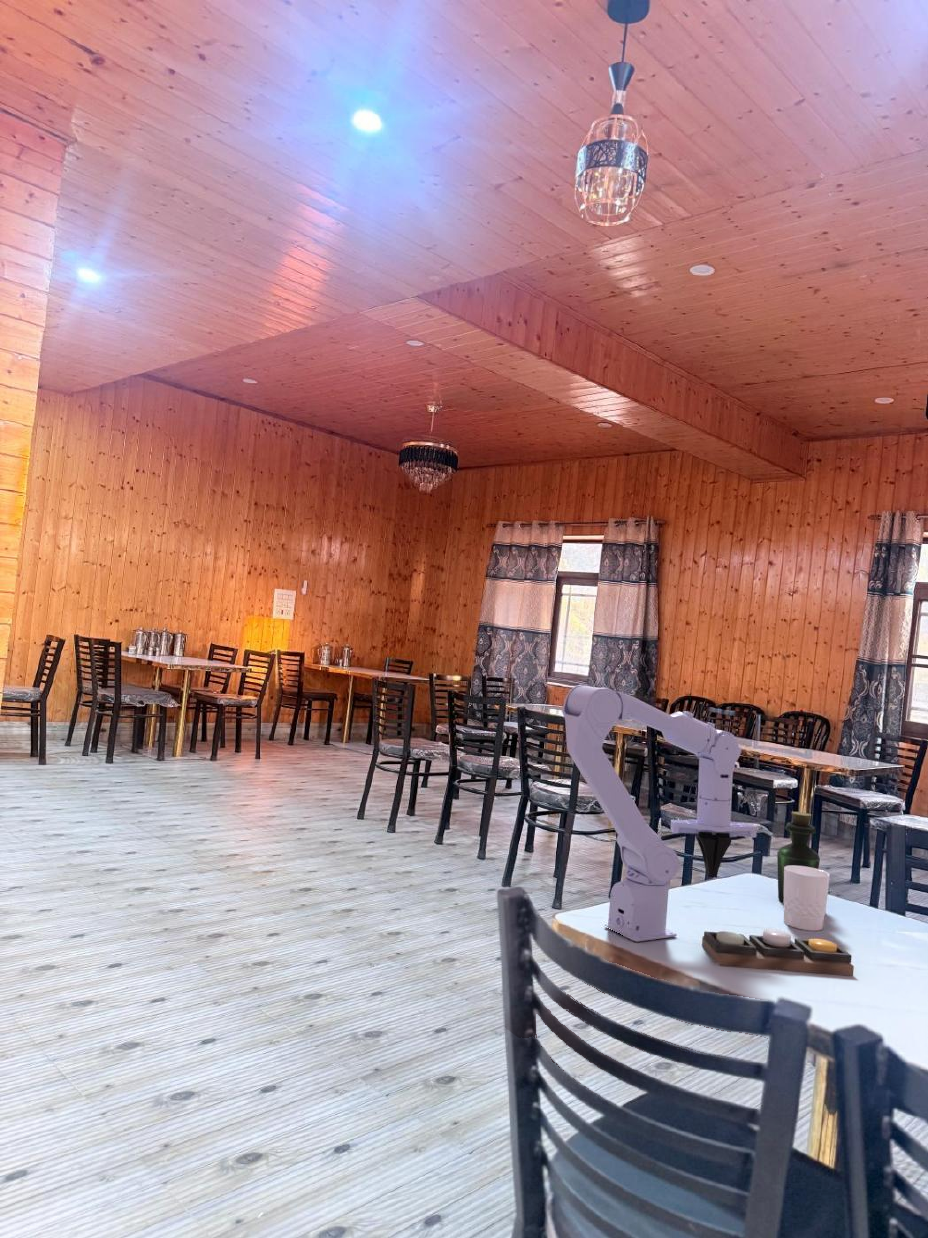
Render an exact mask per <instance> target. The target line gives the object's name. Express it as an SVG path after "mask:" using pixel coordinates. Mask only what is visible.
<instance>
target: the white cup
mask: <svg viewBox="0 0 928 1238" xmlns="http://www.w3.org/2000/svg"><path fill="white" fill-rule="evenodd" d="M830 876H831V875H830V873H829V872H828V871H825V870H822V869H820V868H818V869H816V868H811V867H805V866H796V865H790V866H785V867H784V903H783V908H784V909H783V922H784V923H785V924H786V925H788V926H789V927H792V928H795V929H799V930H803V931H813V932H818V931H821V930H822V929H824V922H825V921H824V920H825V915H826V910H827V901H828V895H829V886H830V885H829V884H830V878H831V877H830Z"/></svg>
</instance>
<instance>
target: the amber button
mask: <svg viewBox="0 0 928 1238" xmlns="http://www.w3.org/2000/svg"><path fill="white" fill-rule="evenodd" d="M808 940H809V944H808V947H809V948H811V949H812V950H813V951H820V952H833V953H837V945H838V944H837V943H836V942H834V941H832V942H830V941H829V940H827V939H821V938H810V939H808ZM833 942H834V943H833ZM835 943H836V944H837V945H836V944H835Z"/></svg>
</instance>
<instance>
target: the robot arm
mask: <svg viewBox="0 0 928 1238" xmlns="http://www.w3.org/2000/svg"><path fill="white" fill-rule="evenodd" d="M561 713H562V715H563V717H564V720H565V723H564V724H565V738H566V739H565V741H566V750H567V752H568V754H569V756H570V758H571V759H572V760H573V762H574V764H575V765H576V766H575V767H577V769H578V771H579V772H580V774H581V776H582V777H583V779H584V780H585V783H587V784H586V785H588V787H589V788H590V790H591V793H592V795H594V797H595V798H596V801H597V802H598V804H599V805H600V807H601V808H602V809H601V810H602V811H603V812H604V814H605V816H606V818H607V819H608V820H609V822H610V823H611V825H612V827H613V829H614V831H615V832H616V834H617V837H616V839H615V841H616V842H617V844H618V846H619V849H620V857H621V858H620V859H621V861H622V863H623V864H624V865H625V867H626V871H625V874H626V877H625V878H624V879H623V880H621V881H618V882H616V883H615V884H614V885H612V888H611V891H610V897H609V907H608V908H609V909H608V922H607V923H605V924H604V927H605V926H607V927H608V928H610V929H612V930H613V931H612V930H611V931H612V932H614V931H615V932H614V933H616V932H617V934H618V933H620V934H621V936H622V935H623V936H622V937H625V938H627V939H629V940H631V941H632V942H645V941H652V940H658V939H660V940H661V939H666V938H674V937H677V933H676V932H674V931H673V930H670V929H667V913H668V903H669V901H668V900H669V892H670V891H669V890H670V885H671V881H672V880H674V878H675V877H676V875H677V873H678V871H679V867H680V865H679V863H680V862H679V857H678V854H677V852H676V851H675V850H674V849H673V848H672V847H670V846H668V845H666V844H665V843H664V842H663V840H662V837H660V836H659V834H657V833H656V832H655V830H653V829H652V828H651V826H650V825H649V824H648V823H647V822H646V820H645V819H644V816H643V815H642V813H641V811H640V810H639V809H638V807H637V805H636V804H635V801H634V800H633V798H632V797H631V795H630V793H629V791H628V790H627V788H626V786H625V785H624V782H622V780H621V778H620V777H619V775H618V773H617V771H616V770H615V768H614V766H613V764H612V763H611V762H610V760H609V758H608V756H607V754H606V753H605V751H604V749H603V746H604V742H605V739H606V738H607V736H608V735H609V733H610V732H611V730H612V729H613V727H614V726H615V724H616V723H617V721H619V720H620V721H625V720H627V719H630V720H632V721H634V722H637V723H640V724H642V725H645V726H646V727H650V728H652V729H654V730H657V731H659V732H661V733H662V736H663V739H664V741H665V742H666V743H669V744H671V745H674V746H675V747H678V748H680V749H682V750H684V751H685V752H686V751H687V752H689V753H692V754H693V755H695V757H697V758H698V759H699V760H698V763H699V764H698V781H697V783H698V785H697V786H698V787H697V805H696V806H697V807H696V809H697V810H696V815H697V816H696V819H678V820H677V819H676V820H675V819H671V820H670V832H671V833H672V834H694V836H695V839H696V840H697V842H698V843H697V844H698V845H699V848H700V851H701V854H702V858H703V863H704V868H705V875H706V876H707V877H708V878H715V879H716V878H717V877H718V872H719V869H720V866H721V863H722V861H723V858H724V856H725V854H726V852H727V851H728V849H729V847H730V846H731V844H732V838H731V837H730V836H734V837H737V836H738V837H749V838H757V831H758V830H757V826H756V825H755V824H753V823H752V824H751V823H740V822H734V821H733V822H732V819H731V818H732V797H733V796H732V795H733V778H734V777H733V775H734V771H735V766H736V763H737V761H738V760H739V758H740V756H741V754H742V753H741V752H742V747H740V746H739V741H738V739H737V738H736V736H735V735H734V733H731V732H729V731H725V730H721V729H716V728H715V727H716V724H714V723H712V722H704V721H702V720H699V719H697V718H695V717H694V713H692V712H690V711H688V710H687V711H686V710H684V711H676V712H673V713H671V714H668V713H666V712H665V711H662V710H660V709H658V708H657V707H654V706H652V705H650V704H648V703H647V702H644V701H642V700H640V699H638V698H637V697H635V696H632V695H631V694H626V693H625V692H624V693H623V692H620V691H615V690H614V689H611V688H608V687H595V686H590V685H587V684H578V685H575V686H573V687H572V688H571V689H569V691H568V692H567V694H566V697H565V699H564V702H563V706H562V708H561ZM608 928H607V929H608ZM610 929H609V930H610ZM620 934H619V935H620Z"/></svg>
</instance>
